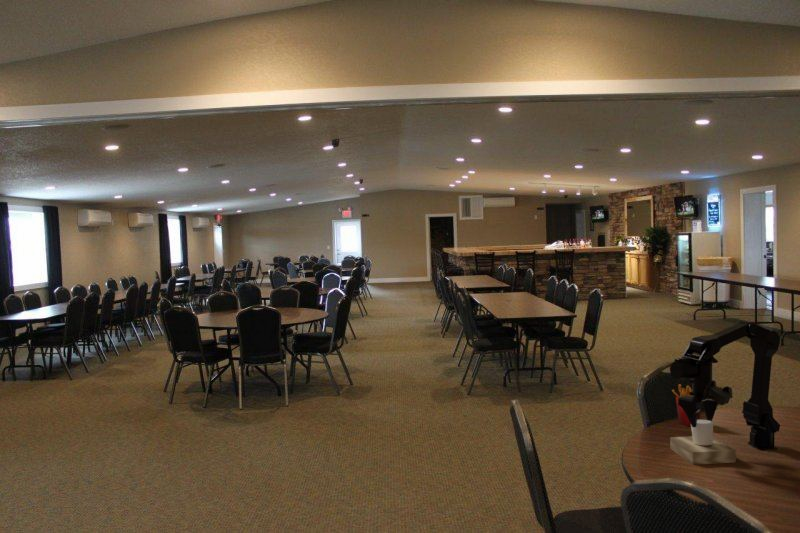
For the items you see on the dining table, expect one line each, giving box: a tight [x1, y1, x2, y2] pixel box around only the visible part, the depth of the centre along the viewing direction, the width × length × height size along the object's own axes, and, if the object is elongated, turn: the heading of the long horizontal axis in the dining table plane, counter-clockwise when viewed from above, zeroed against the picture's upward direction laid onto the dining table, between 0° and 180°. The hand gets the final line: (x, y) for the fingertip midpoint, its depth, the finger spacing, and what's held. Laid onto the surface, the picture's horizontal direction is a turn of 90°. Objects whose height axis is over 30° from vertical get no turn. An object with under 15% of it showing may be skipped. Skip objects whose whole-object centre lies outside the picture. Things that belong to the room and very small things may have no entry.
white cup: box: [690, 418, 714, 445], centre depth 197 cm, size 7×7×7 cm
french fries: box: [671, 384, 702, 427], centre depth 228 cm, size 9×8×15 cm
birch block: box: [669, 435, 737, 465], centre depth 197 cm, size 14×14×4 cm
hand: (701, 424), depth 197 cm, fingers open, 9 cm apart
